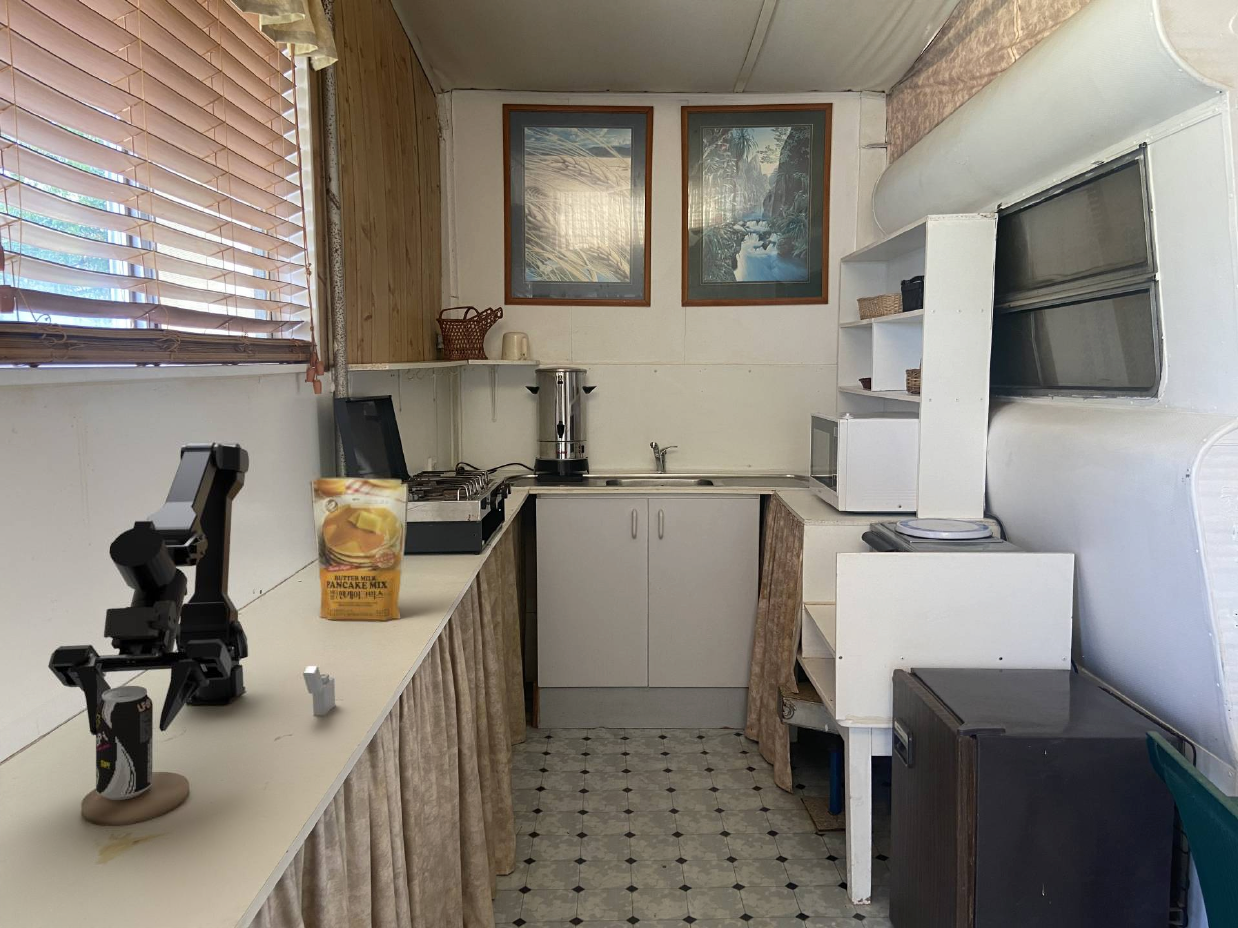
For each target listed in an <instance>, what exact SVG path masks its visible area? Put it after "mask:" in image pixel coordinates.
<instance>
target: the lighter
mask: <svg viewBox="0 0 1238 928" xmlns="http://www.w3.org/2000/svg"><path fill="white" fill-rule="evenodd" d="M302 674H303V679H304V682H305V686H306V689H307V692H308V694H310V695H312V709H313V712H312V713H313V716H319V717H321V716H322V717H323V716H324V717H325V716H326V715H327V714H329V712H330V711H331V710H332V709H334V707H335V706H336V693H335V691H336V690H335V688H336V687H335V686H336V685H335V677H333V676H332V677H331V676H330V674H329V673H320V669H319V667H318V666H317V665H306V666H305V668H304V670H303V673H302Z"/></svg>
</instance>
